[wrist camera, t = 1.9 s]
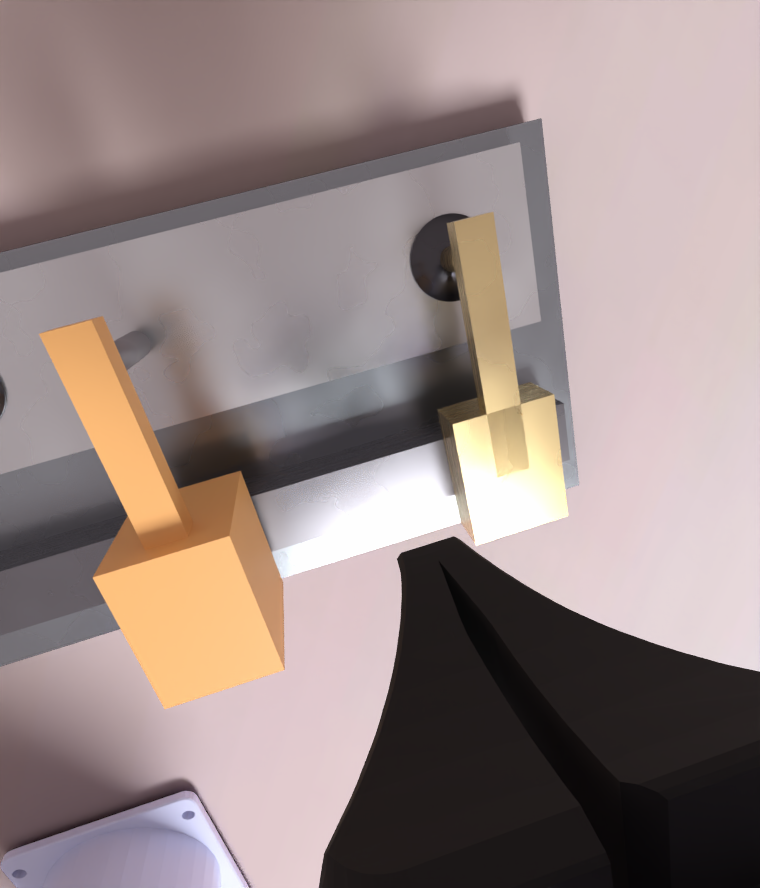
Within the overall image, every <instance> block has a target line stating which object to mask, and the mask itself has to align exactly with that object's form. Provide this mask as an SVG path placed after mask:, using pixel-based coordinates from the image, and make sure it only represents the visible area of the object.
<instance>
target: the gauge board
mask: <svg viewBox="0 0 760 888" xmlns="http://www.w3.org/2000/svg"><path fill="white" fill-rule="evenodd" d="M101 316H103V317H104V320H105V322H106V324H107V327H108V329H109V331H110V333H111V336H112V338H113V340H114V341H115V340H117V339H118V338H120V337H122V336H124V335H126V334H128V333H130V332H132V331H139V332H142V333H144V334H145V335H147V336H148V338H149V339H150V341H151V350H150V352H149V353H148V354H147V355H146V356H145V357H144V358H142V359H141V360H140V361H139V362H137V363H136V364H135V365H133V366H132V367H131V368H130V369H128V370H127V372H128V375H129V377H130V379H131V381H132V384H133V386H134V388H135V391H136V393H137V395H138V397H139V400H140V402H141V404H142V407H143V409H144V411H145V413H146V416H147V418H148V420H149V423H150V425H151V427H152V429H153V432H154V434H155V436H156V439H157V441H158V443H159V445H160V448H161V450H162V452H163V455H164V457H165V459H166V461H167V464H168V466H169V468H170V471H171V473H172V475H173V477H174V480H175V482H176V484H177V487H178V489H180V488H183V487H187V486H190V485H193V484H197V483H200V482H204V481H207V480H210V479H214V478H217V477H221V476H224V475H227V474H231V473H234V472H238V471H241V473H242V476H243V478H244V481H245V484H246V486H247V489H248V492H249V494H250V497H251V500H252V502H253V505H254V507H255V510H256V513H257V515H258V518H259V521H260V523H261V526H262V529H263V531H264V534H265V536H266V539H267V542H268V544H269V547H270V550H271V552H272V555H273V557H274V560H275V563H276V565H277V568H278V571H279V573H280V576H281V578H284V577H287V576H291V575H294V574H297V573H300V572H303V571H307V570H310V569H313V568H316V567H319V566H322V565H326V564H329V563H332V562H335V561H338V560H342V559H345V558H348V557H351V556H354V555H358V554H361V553H364V552H367V551H370V550H374V549H377V548H380V547H383V546H386V545H389V544H393V543H396V542H399V541H402V540H405V539H409V538H412V537H415V536H418V535H421V534H425V533H428V532H431V531H434V530H437V529H440V528H444V527H447V526H450V525H453V524H456V523H460V522H461V523H462V525H463V526H464V528H465V529H466V531H467V532H468V534H469V535H470V537H471V538H472V540H473V541H474V542H475V544H476V545H479V544H482V543H485V542H488V541H491V540H494V539H497V538H501V537H504V536H507V535H510V534H513V533H516V532H519V531H522V530H526V529H529V528H532V527H535V526H538V525H541V524H544V523H548V522H551V521H554V520H557V519H560V518H563V517H566V516H568V509H567V501H566V492H565V489H568V488H571V487H574V486H578V485H579V479H578V469H577V459H576V450H575V440H574V430H573V421H572V411H571V401H570V391H569V382H568V372H567V362H566V352H565V343H564V333H563V323H562V314H561V304H560V294H559V284H558V275H557V265H556V255H555V245H554V236H553V226H552V216H551V207H550V197H549V187H548V177H547V168H546V158H545V148H544V138H543V129H542V119H537V120H533V121H529V122H525V123H521V124H516V125H512V126H508V127H504V128H500V129H496V130H492V131H488V132H484V133H480V134H476V135H472V136H468V137H464V138H460V139H456V140H452V141H448V142H444V143H440V144H436V145H432V146H428V147H424V148H420V149H416V150H412V151H408V152H404V153H400V154H396V155H392V156H388V157H384V158H380V159H375V160H371V161H367V162H363V163H359V164H355V165H351V166H347V167H343V168H339V169H335V170H331V171H327V172H323V173H319V174H315V175H311V176H307V177H303V178H299V179H295V180H291V181H287V182H283V183H279V184H275V185H271V186H267V187H263V188H259V189H255V190H251V191H247V192H243V193H239V194H235V195H230V196H226V197H222V198H218V199H214V200H210V201H206V202H202V203H198V204H194V205H190V206H186V207H182V208H178V209H174V210H170V211H166V212H162V213H158V214H154V215H150V216H146V217H142V218H138V219H134V220H130V221H126V222H122V223H118V224H114V225H110V226H106V227H102V228H98V229H94V230H89V231H85V232H81V233H77V234H73V235H69V236H65V237H61V238H57V239H53V240H49V241H45V242H41V243H37V244H33V245H29V246H25V247H21V248H17V249H13V250H9V251H5V252H1V253H0V666H4V665H7V664H10V663H13V662H16V661H20V660H23V659H26V658H29V657H32V656H36V655H39V654H42V653H45V652H48V651H51V650H55V649H58V648H61V647H64V646H67V645H71V644H74V643H77V642H80V641H83V640H87V639H90V638H93V637H96V636H99V635H102V634H106V633H109V632H112V631H115V630H118V629H120V627H119V625H118V623H117V621H116V620H115V618H114V616H113V614H112V612H111V610H110V609H109V607H108V605H107V603H106V601H105V599H104V598H103V596H102V594H101V592H100V590H99V589H98V587H97V585H96V583H95V581H94V579H93V576H94V574H95V572H96V571H97V569H98V567H99V565H100V563H101V562H102V560H103V558H104V556H105V555H106V553H107V551H108V549H109V548H110V546H111V544H112V542H113V541H114V539H115V537H116V535H117V534H118V532H119V530H120V528H121V527H122V525H123V523H124V521H125V519H126V518H127V516H128V515H127V513H126V511H125V509H124V507H123V505H122V503H121V501H120V499H119V496H118V494H117V492H116V490H115V488H114V486H113V484H112V482H111V480H110V478H109V476H108V474H107V472H106V470H105V468H104V466H103V464H102V462H101V460H100V458H99V456H98V454H97V452H96V450H95V448H94V445H93V443H92V441H91V439H90V437H89V435H88V433H87V431H86V429H85V427H84V425H83V423H82V421H81V419H80V417H79V415H78V413H77V411H76V409H75V407H74V405H73V403H72V401H71V399H70V397H69V395H68V392H67V390H66V388H65V386H64V384H63V382H62V380H61V378H60V376H59V374H58V372H57V370H56V368H55V366H54V364H53V362H52V360H51V358H50V356H49V354H48V352H47V350H46V348H45V346H44V344H43V342H42V339H41V337H40V335H39V334H40V333H43V332H46V331H49V330H52V329H55V328H59V327H63V326H66V325H70V324H74V323H78V322H82V321H85V320H89V319H93V318H97V317H101Z"/></svg>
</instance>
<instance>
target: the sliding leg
mask: <svg viewBox="0 0 760 888" xmlns="http://www.w3.org/2000/svg"><path fill="white" fill-rule="evenodd" d="M39 335H40V337H41V339H42V342H43V344H44V346H45V348H46V350H47V352H48V354H49V356H50V358H51V360H52V362H53V364H54V366H55V368H56V370H57V372H58V374H59V376H60V378H61V380H62V382H63V384H64V386H65V388H66V390H67V392H68V395H69V397H70V399H71V401H72V403H73V405H74V407H75V409H76V411H77V413H78V415H79V417H80V419H81V421H82V423H83V425H84V427H85V429H86V431H87V433H88V435H89V437H90V439H91V441H92V443H93V445H94V448H95V450H96V452H97V454H98V456H99V458H100V460H101V462H102V464H103V466H104V468H105V470H106V472H107V474H108V476H109V478H110V480H111V482H112V484H113V486H114V488H115V490H116V492H117V494H118V496H119V499H120V501H121V503H122V505H123V507H124V509H125V511H126V513H127V515H128V516H127V518H126V519H125V521H124V523H123V525H122V527H121V528H120V530H119V532H118V534H117V535H116V537H115V539H114V541H113V542H112V544H111V546H110V548H109V549H108V551H107V553H106V555H105V556H104V558H103V560H102V562H101V563H100V565H99V567H98V569H97V571H96V572H95V574H94V576H93V579H94V581H95V583H96V585H97V587H98V589H99V590H100V592H101V594H102V596H103V598H104V599H105V601H106V603H107V605H108V607H109V609H110V610H111V612H112V614H113V616H114V618H115V620H116V621H117V623H118V625H119V627H120V629H121V630H122V632H123V634H124V636H125V638H126V640H127V641H128V643H129V645H130V647H131V649H132V650H133V652H134V654H135V656H136V658H137V660H138V661H139V663H140V665H141V667H142V669H143V670H144V672H145V674H146V676H147V678H148V680H149V681H150V683H151V685H152V687H153V689H154V690H155V692H156V694H157V696H158V698H159V700H160V701H161V703H162V705H163V707H164V709H167V708H170V707H173V706H176V705H179V704H182V703H185V702H188V701H191V700H194V699H197V698H200V697H203V696H207V695H210V694H213V693H216V692H219V691H222V690H225V689H228V688H231V687H234V686H237V685H240V684H243V683H246V682H249V681H252V680H255V679H258V678H261V677H264V676H267V675H270V674H273V673H276V672H279V671H283V670H285V669H284V610H283V581H282V579H281V576H280V573H279V571H278V568H277V565H276V563H275V560H274V557H273V555H272V552H271V550H270V547H269V544H268V542H267V539H266V536H265V534H264V531H263V529H262V526H261V523H260V521H259V518H258V515H257V513H256V510H255V507H254V505H253V502H252V500H251V497H250V494H249V492H248V489H247V486H246V484H245V481H244V478H243V476H242V473H241V471H238V472H234V473H231V474H227V475H224V476H221V477H217V478H214V479H210V480H207V481H204V482H200V483H197V484H193V485H190V486H187V487H183V488H180V489H178V487H177V484H176V482H175V480H174V477H173V475H172V473H171V471H170V468H169V466H168V464H167V461H166V459H165V457H164V455H163V452H162V450H161V448H160V445H159V443H158V441H157V439H156V436H155V434H154V432H153V429H152V427H151V425H150V423H149V420H148V418H147V416H146V413H145V411H144V409H143V407H142V404H141V402H140V400H139V397H138V395H137V393H136V391H135V388H134V386H133V384H132V381H131V379H130V377H129V375H128V372H127V370H128V369H130V368H131V367H132V366H133V365H135V364H136V363H137V362H139V361H140V360H141V359H142V358H144V357H145V356H146V355H147V354H148V353H149V352H150V350H151V341H150V339H149V338H148V336H147V335H145V334H144V333H142V332H139V331H132V332H130V333H128V334H126V335H124V336H122V337H120V338H118V339H117V340H115V341H114V340H113V338H112V336H111V333H110V331H109V329H108V327H107V324H106V322H105V320H104V317H103V316H101V317H97V318H93V319H89V320H85V321H82V322H78V323H74V324H70V325H66V326H63V327H59V328H55V329H52V330H49V331H46V332H43V333H40V334H39Z"/></svg>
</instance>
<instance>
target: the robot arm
mask: <svg viewBox="0 0 760 888" xmlns="http://www.w3.org/2000/svg"><path fill="white" fill-rule="evenodd" d="M397 560H398V564H399V568H400V572H401V581H402V603H401V621H400V630H399V637H398V645H397V652H396V658H395V663H394V668H393V673H392V678H391V682H390V686H389V690H388V694H387V698H386V701H385V705H384V708H383V712H382V715H381V719H380V722H379V725H378V729H377V732H376V735H375V738H374V741H373V743H372V746H371V748H370V751H369V754H368V756H367V759H366V761H365V764H364V767H363V769H362V772H361V774H360V777H359V780H358V782H357V785H356V787H355V789H354V792H353V794H352V796H351V799H350V801H349V803H348V805H347V807H346V809H345V811H344V813H343V815H342V817H341V819H340V822H339V824H338V826H337V828H336V830H335V832H334V834H333V836H332V838H331V840H330V842H329V845H328V847H327V849H326V851H325V853H324V858H323V864H322V871H321V877H320V884H319V888H760V672H758V671H754V670H749V669H744V668H740V667H735V666H731V665H726V664H722V663H718V662H715V661H711V660H708V659H704V658H700V657H697V656H693V655H690V654H686V653H682V652H679V651H676V650H673V649H670V648H666V647H663V646H660V645H657V644H654V643H651V642H648V641H645V640H643V639H640V638H637V637H634V636H631V635H629V634H626V633H623V632H620V631H618V630H615V629H613V628H610V627H608V626H605V625H603V624H600V623H598V622H596V621H594V620H591V619H589V618H587V617H585V616H582V615H580V614H578V613H576V612H574V611H571V610H569V609H567V608H565V607H564V606H562V605H560V604H558V603H556V602H554V601H552V600H550V599H549V598H547V597H545V596H543V595H541V594H540V593H538V592H536V591H534V590H533V589H531V588H529V587H528V586H526V585H524V584H523V583H521V582H520V581H518V580H516V579H515V578H513V577H512V576H510V575H509V574H507V573H505V572H504V571H502V570H501V569H499V568H498V567H496V566H495V565H493V564H492V563H491V562H489V561H488V560H486V559H485V558H484V557H482V556H481V555H479V554H478V553H477V552H475V551H474V550H473V549H471V548H470V547H469V546H467V545H466V544H465V543H463V542H462V541H461V540H460V539H458V538H456V537H451V538H447V539H444V540H441V541H438V542H435V543H431V544H428V545H425V546H422V547H419V548H415V549H412V550H409V551H406V552H403V553H401V554H400V555H399V557H398V558H397ZM0 868H1V870H2V871H3V872H4V873H5V875H6V876H7V877H8V878H9V879H10V880H11V882H12V883H13V884H14V885H15V886H16V887H17V888H249V886H248V885H247V883H246V881H245V879H244V878H243V876H242V874H241V872H240V871H239V869H238V867H237V865H236V864H235V862H234V860H233V858H232V856H231V855H230V853H229V851H228V849H227V848H226V846H225V844H224V842H223V841H222V839H221V837H220V835H219V834H218V832H217V830H216V828H215V826H214V825H213V823H212V821H211V819H210V818H209V816H208V814H207V812H206V811H205V809H204V807H203V805H202V804H201V802H200V800H199V798H198V797H197V795H196V794H195V793H194V792H191V791H182V792H179V793H176V794H173V795H170V796H167V797H164V798H161V799H158V800H155V801H153V802H150V803H147V804H144V805H141V806H138V807H135V808H132V809H129V810H126V811H123V812H120V813H118V814H115V815H112V816H109V817H106V818H103V819H100V820H97V821H94V822H91V823H88V824H86V825H83V826H80V827H77V828H74V829H71V830H68V831H65V832H62V833H59V834H56V835H53V836H51V837H48V838H45V839H42V840H39V841H36V842H33V843H30V844H27V845H24V846H21V847H18V848H16V849H13V850H11V851H9V852H7V853H6V854H5V855H4V857H3V859H2V861H1V864H0Z"/></svg>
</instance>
